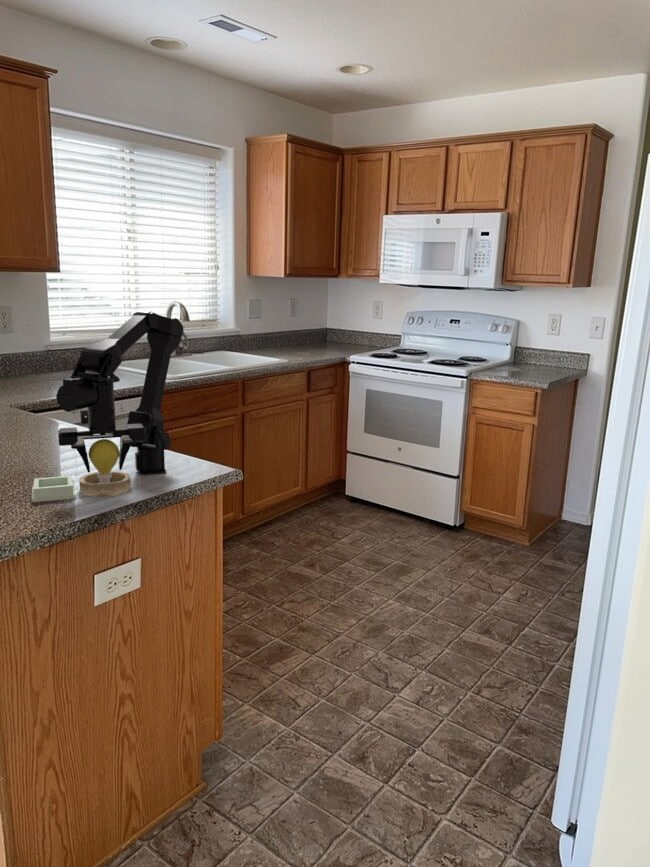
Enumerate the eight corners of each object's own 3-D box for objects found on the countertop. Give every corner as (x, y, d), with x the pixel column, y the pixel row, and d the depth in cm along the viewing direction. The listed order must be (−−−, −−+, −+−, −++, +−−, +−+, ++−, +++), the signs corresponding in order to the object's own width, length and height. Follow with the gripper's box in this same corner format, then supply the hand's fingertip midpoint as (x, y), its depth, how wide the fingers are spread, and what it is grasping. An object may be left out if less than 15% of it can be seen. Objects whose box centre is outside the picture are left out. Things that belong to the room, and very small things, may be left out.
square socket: (74, 486, 156) (73, 474, 155) (76, 498, 148) (75, 486, 147) (32, 489, 153) (31, 478, 152) (31, 502, 145) (30, 490, 144)
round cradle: (127, 480, 161) (127, 469, 161) (132, 494, 151) (132, 482, 151) (79, 484, 157) (78, 473, 157) (81, 499, 147) (80, 487, 147)
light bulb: (125, 482, 154) (125, 440, 152) (99, 488, 149) (98, 444, 147) (109, 476, 159) (109, 434, 156) (83, 481, 154) (82, 438, 151)
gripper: (139, 395, 160) (142, 458, 164) (55, 399, 154) (60, 464, 157) (145, 404, 150) (148, 471, 154) (56, 408, 144) (61, 478, 147)
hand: (104, 470), depth 153 cm, fingers closed on light bulb, 6 cm apart
